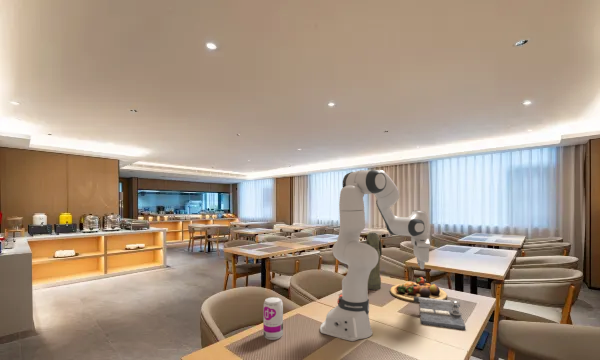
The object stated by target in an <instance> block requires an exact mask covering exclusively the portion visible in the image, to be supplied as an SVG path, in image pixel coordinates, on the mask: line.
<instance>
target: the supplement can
mask: <svg viewBox="0 0 600 360" xmlns="http://www.w3.org/2000/svg"><path fill="white" fill-rule="evenodd" d="M283 311H284V302H283V300H282V298H281V297H277V296H271V297H268V298H267V297H266V298H265V300H264V302H263V316H262V317H263V321H262V322H263V337H264V338H265V339H266V340H270V341H274V340H279V339H281V338H282V336H283V335H284V312H283Z"/></svg>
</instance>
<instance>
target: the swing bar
mask: <svg viewBox="0 0 600 360" xmlns="http://www.w3.org/2000/svg"><path fill="white" fill-rule="evenodd" d="M414 302H424V303H433V304H442V305H450V306H454V307H459V308H461V301H459V300H457V299H456V300H455V299H452V300H449V299H446V300H440V299H431V298H422V297H415V296H414Z"/></svg>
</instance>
